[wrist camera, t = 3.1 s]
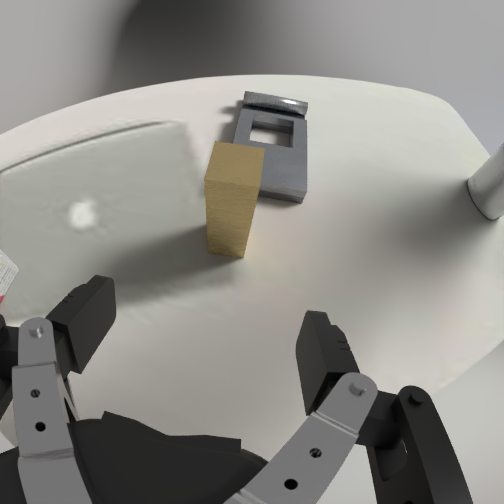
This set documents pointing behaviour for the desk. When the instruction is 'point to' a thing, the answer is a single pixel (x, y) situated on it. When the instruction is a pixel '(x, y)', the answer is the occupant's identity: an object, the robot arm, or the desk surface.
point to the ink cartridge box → (6, 273)
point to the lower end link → (274, 109)
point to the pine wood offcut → (231, 196)
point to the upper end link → (278, 156)
